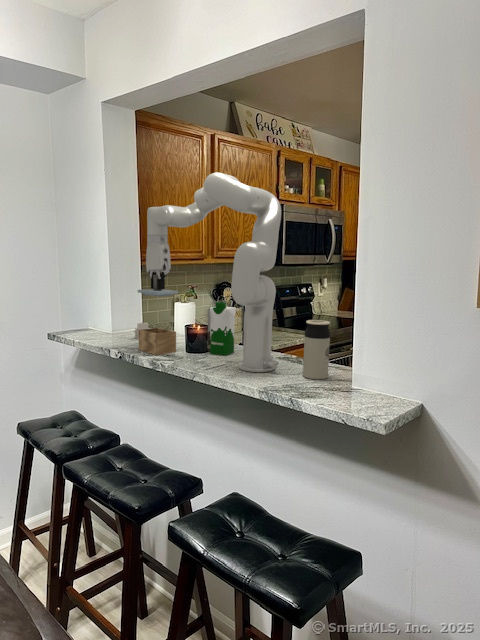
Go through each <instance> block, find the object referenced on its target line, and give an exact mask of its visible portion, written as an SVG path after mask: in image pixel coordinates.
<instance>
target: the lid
mask: <svg viewBox="0 0 480 640" xmlns="http://www.w3.org/2000/svg"><path fill="white" fill-rule="evenodd" d="M157 279H158V274H157V275H153V289H151V288H150V289H137V293H139V294H140V293H141V294H143V295H144V296H151V297H170V296H171V297H172V296H173V295H176V294H177V295H178V294H179V291H178V290H173V289H172V290H170V289H160V290H158V289H157Z"/></svg>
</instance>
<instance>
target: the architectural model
mask: <svg viewBox="0 0 480 640" xmlns="http://www.w3.org/2000/svg"><path fill="white" fill-rule="evenodd" d="M134 329H135V330H133V332H134V339H136V340H139V330H143V329H149V322H139V323H137V328H136V327H135V328H134Z"/></svg>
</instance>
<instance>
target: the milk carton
mask: <svg viewBox="0 0 480 640" xmlns="http://www.w3.org/2000/svg"><path fill="white" fill-rule="evenodd" d="M209 308H210V317H211V323H210V348H209V354H210V355H217V356H218V355H219V356H225V357H227V356H228V355H230V354H234V353H235V322H236V321H235V318H236V310H237V307H235V306H234V307H233V306H227V303H226V302H224V301H216V302H215V306H213V307H209Z"/></svg>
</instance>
